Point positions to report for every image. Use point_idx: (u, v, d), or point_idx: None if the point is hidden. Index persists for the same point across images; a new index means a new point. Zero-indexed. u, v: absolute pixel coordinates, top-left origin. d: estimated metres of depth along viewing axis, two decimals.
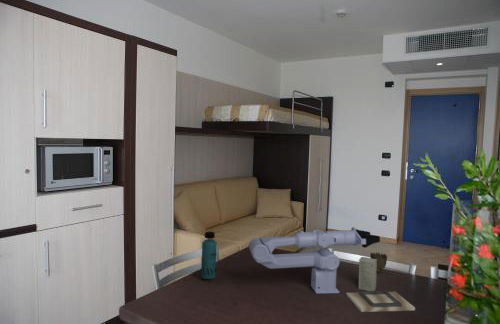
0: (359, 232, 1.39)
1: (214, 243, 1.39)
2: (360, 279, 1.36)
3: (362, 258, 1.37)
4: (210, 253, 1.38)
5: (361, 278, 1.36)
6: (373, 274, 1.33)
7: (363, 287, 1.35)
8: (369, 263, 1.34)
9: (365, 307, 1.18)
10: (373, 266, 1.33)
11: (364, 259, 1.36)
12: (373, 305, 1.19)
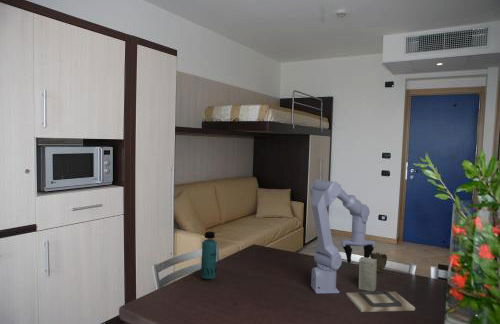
0: None
1: (214, 243, 1.39)
2: (360, 279, 1.36)
3: (362, 258, 1.37)
4: (210, 253, 1.38)
5: (361, 278, 1.36)
6: (373, 274, 1.33)
7: (363, 287, 1.35)
8: (369, 263, 1.34)
9: (365, 307, 1.18)
10: (373, 266, 1.33)
11: (364, 259, 1.36)
12: (373, 305, 1.19)
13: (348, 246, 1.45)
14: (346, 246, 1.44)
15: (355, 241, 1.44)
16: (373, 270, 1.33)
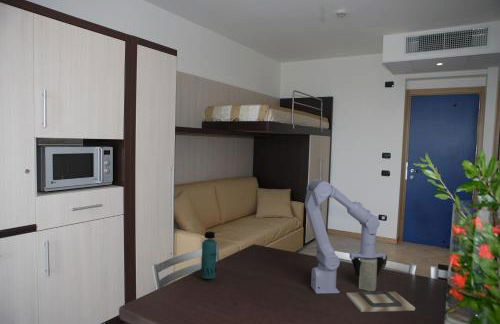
0: None
1: (214, 243, 1.39)
2: (360, 279, 1.36)
3: None
4: (210, 253, 1.38)
5: (362, 278, 1.35)
6: (373, 274, 1.33)
7: (363, 287, 1.35)
8: (369, 263, 1.33)
9: (365, 307, 1.18)
10: (374, 266, 1.33)
11: (364, 259, 1.36)
12: (373, 305, 1.19)
13: (357, 259, 1.36)
14: (355, 259, 1.35)
15: (364, 254, 1.35)
16: (373, 270, 1.33)
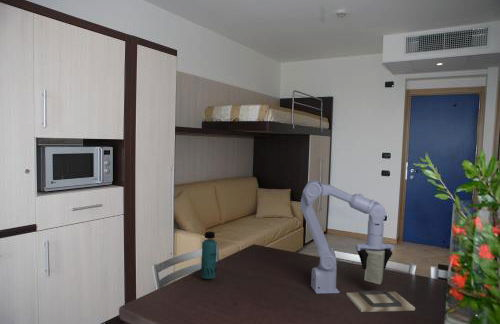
0: None
1: (214, 243, 1.39)
2: (366, 271, 1.30)
3: None
4: (210, 253, 1.38)
5: (368, 269, 1.29)
6: (380, 266, 1.27)
7: (369, 279, 1.30)
8: (376, 255, 1.27)
9: (365, 307, 1.18)
10: (381, 258, 1.26)
11: (372, 250, 1.29)
12: (373, 305, 1.19)
13: (363, 250, 1.29)
14: (361, 250, 1.29)
15: (371, 245, 1.28)
16: (381, 262, 1.26)
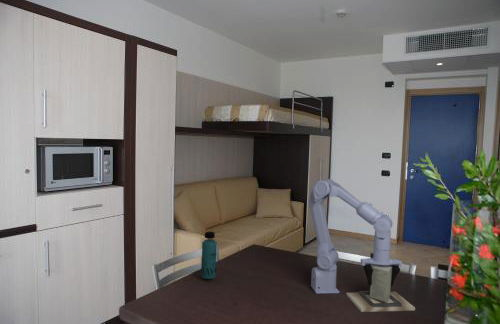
0: None
1: (214, 243, 1.39)
2: (372, 287, 1.24)
3: None
4: (210, 253, 1.38)
5: (373, 286, 1.23)
6: (386, 283, 1.20)
7: (375, 296, 1.23)
8: (382, 271, 1.21)
9: (365, 307, 1.18)
10: (387, 275, 1.20)
11: (377, 266, 1.23)
12: (373, 305, 1.19)
13: (369, 265, 1.23)
14: (366, 265, 1.23)
15: (377, 260, 1.22)
16: (386, 279, 1.20)
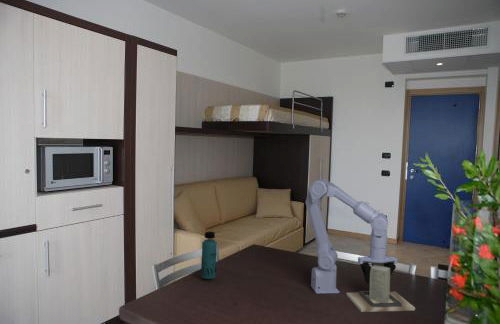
0: None
1: (214, 243, 1.39)
2: (371, 289, 1.24)
3: (374, 266, 1.26)
4: (210, 253, 1.38)
5: (372, 287, 1.24)
6: (385, 284, 1.21)
7: (374, 298, 1.24)
8: (380, 271, 1.22)
9: (365, 307, 1.18)
10: (385, 275, 1.21)
11: (376, 267, 1.24)
12: (373, 305, 1.19)
13: (366, 263, 1.25)
14: (364, 263, 1.25)
15: (374, 258, 1.24)
16: (385, 279, 1.21)
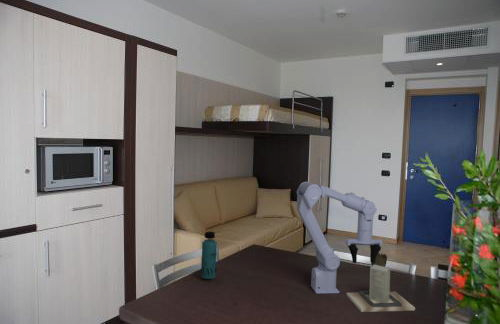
0: None
1: (214, 243, 1.39)
2: (371, 289, 1.24)
3: (374, 266, 1.26)
4: (210, 253, 1.38)
5: (372, 287, 1.24)
6: (385, 284, 1.21)
7: (374, 298, 1.24)
8: (380, 271, 1.22)
9: (365, 307, 1.18)
10: (385, 275, 1.21)
11: (376, 267, 1.24)
12: (373, 305, 1.19)
13: (353, 245, 1.36)
14: (351, 245, 1.35)
15: (361, 240, 1.35)
16: (385, 280, 1.21)
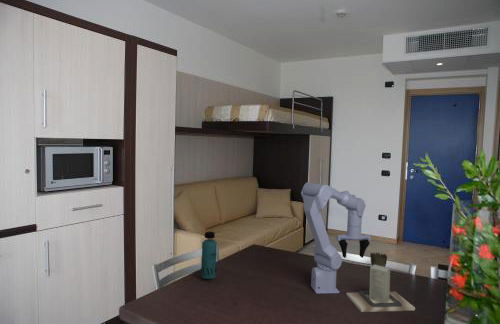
0: None
1: (214, 243, 1.39)
2: (371, 289, 1.24)
3: (374, 266, 1.26)
4: (210, 253, 1.38)
5: (372, 287, 1.24)
6: (385, 284, 1.21)
7: (374, 298, 1.24)
8: (380, 271, 1.22)
9: (365, 307, 1.18)
10: (385, 275, 1.21)
11: (376, 267, 1.24)
12: (373, 305, 1.19)
13: (343, 240, 1.42)
14: (341, 240, 1.42)
15: (350, 235, 1.41)
16: (385, 280, 1.21)
